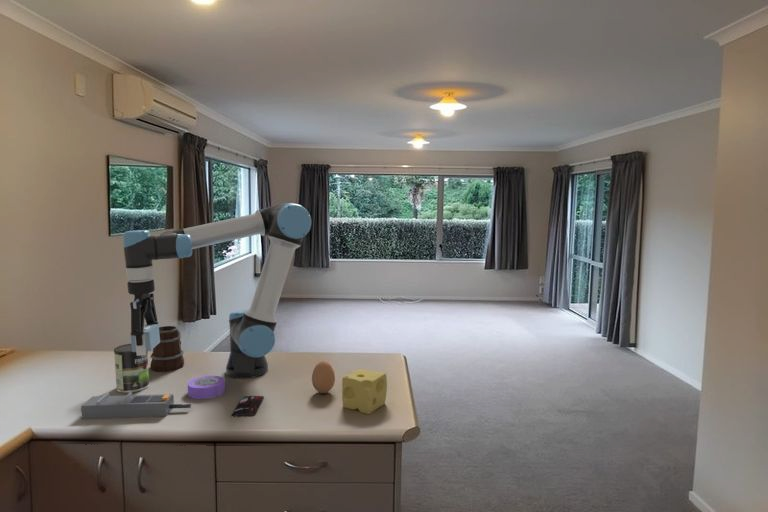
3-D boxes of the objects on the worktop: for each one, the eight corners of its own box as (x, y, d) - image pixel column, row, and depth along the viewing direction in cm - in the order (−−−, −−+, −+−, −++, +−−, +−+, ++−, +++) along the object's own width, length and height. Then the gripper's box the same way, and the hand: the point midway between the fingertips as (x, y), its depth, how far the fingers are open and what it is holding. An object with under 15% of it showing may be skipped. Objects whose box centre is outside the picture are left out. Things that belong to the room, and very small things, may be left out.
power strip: (193, 405, 160) (193, 390, 159) (187, 415, 153) (186, 399, 152) (93, 408, 157) (92, 393, 156) (82, 418, 150) (80, 402, 150)
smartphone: (230, 415, 152) (242, 395, 167) (230, 418, 152) (242, 397, 167) (255, 415, 152) (264, 395, 167) (255, 417, 152) (264, 397, 167)
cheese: (369, 415, 153) (369, 383, 152) (340, 407, 159) (340, 376, 158) (387, 403, 162) (387, 373, 161) (359, 396, 168) (359, 366, 167)
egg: (325, 386, 176) (325, 356, 174) (339, 393, 170) (339, 361, 169) (307, 392, 170) (307, 361, 169) (321, 399, 165) (321, 366, 164)
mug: (176, 372, 190) (174, 332, 188) (144, 371, 191) (142, 332, 189) (194, 358, 205) (192, 322, 204) (165, 357, 206) (163, 321, 204)
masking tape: (183, 390, 172) (183, 379, 172) (218, 383, 179) (217, 372, 179) (193, 402, 163) (193, 390, 162) (229, 393, 170) (229, 382, 169)
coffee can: (156, 383, 179) (154, 343, 177) (136, 394, 169) (133, 352, 167) (130, 380, 181) (127, 342, 179) (109, 391, 171) (106, 350, 169)
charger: (160, 342, 167) (158, 323, 166) (150, 350, 158) (149, 331, 157) (142, 343, 166) (140, 324, 165) (132, 351, 157) (130, 332, 156)
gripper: (140, 274, 169) (146, 340, 172) (113, 287, 148) (121, 362, 151) (164, 273, 170) (169, 339, 173) (140, 286, 149) (147, 360, 152)
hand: (147, 350), depth 162 cm, fingers closed on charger, 9 cm apart
